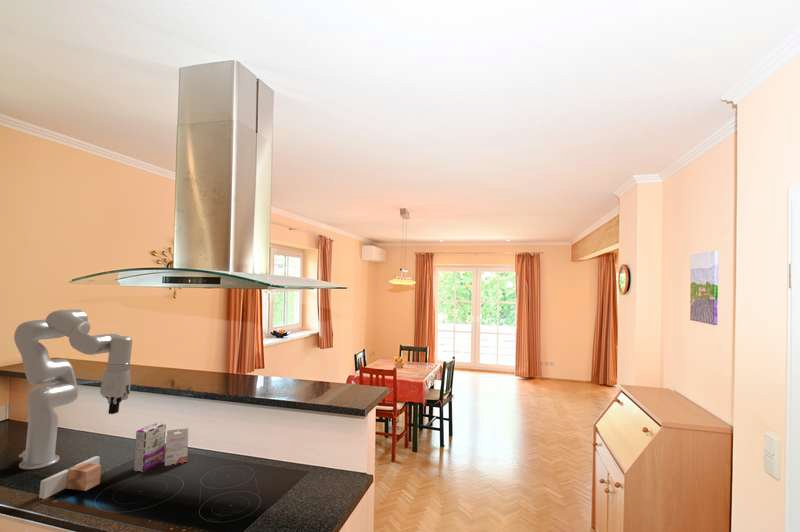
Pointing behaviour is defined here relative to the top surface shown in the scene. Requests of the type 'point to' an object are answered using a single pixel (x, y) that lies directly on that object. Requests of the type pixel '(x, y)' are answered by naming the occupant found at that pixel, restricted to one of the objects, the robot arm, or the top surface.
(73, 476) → the terracotta block
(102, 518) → the top surface
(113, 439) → the top surface
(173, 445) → the ink cartridge box
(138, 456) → the candy bar box
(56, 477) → the grey board
